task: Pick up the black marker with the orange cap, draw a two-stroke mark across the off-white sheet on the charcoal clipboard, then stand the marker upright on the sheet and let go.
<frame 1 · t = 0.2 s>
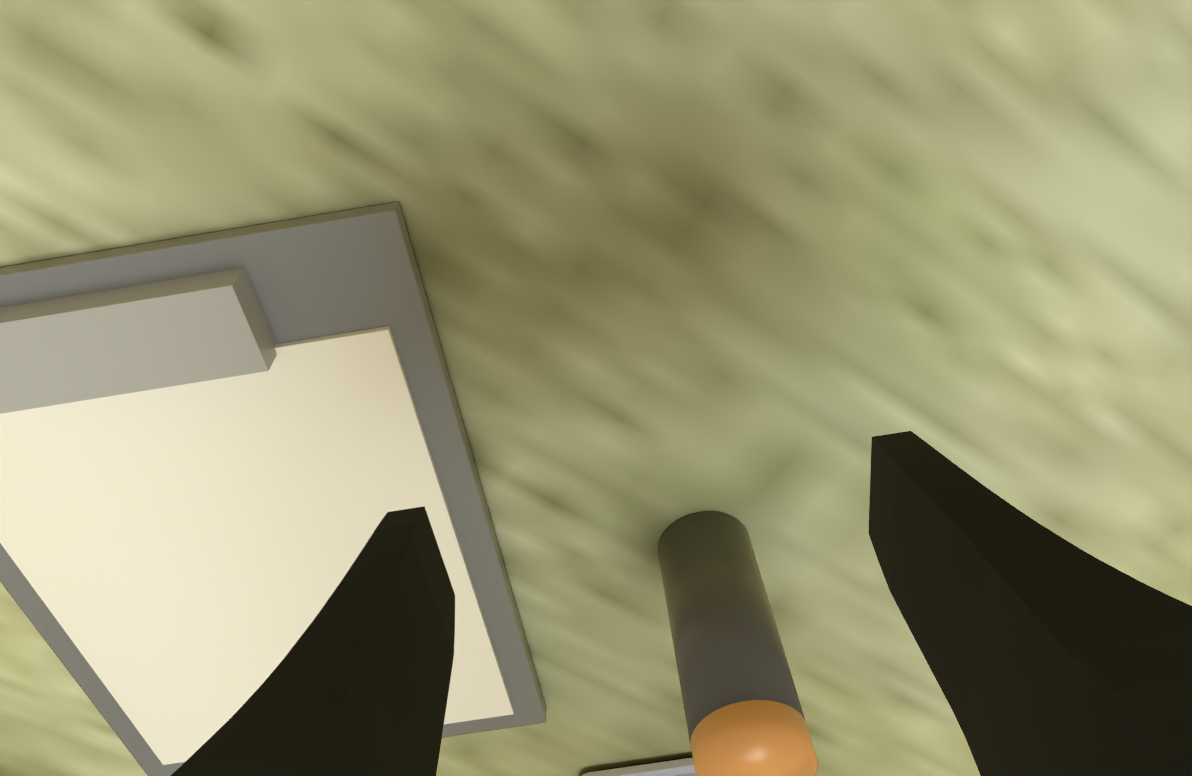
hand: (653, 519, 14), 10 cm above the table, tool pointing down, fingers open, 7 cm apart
marker: (703, 546, 27), on the table
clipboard: (251, 544, 26), on the table
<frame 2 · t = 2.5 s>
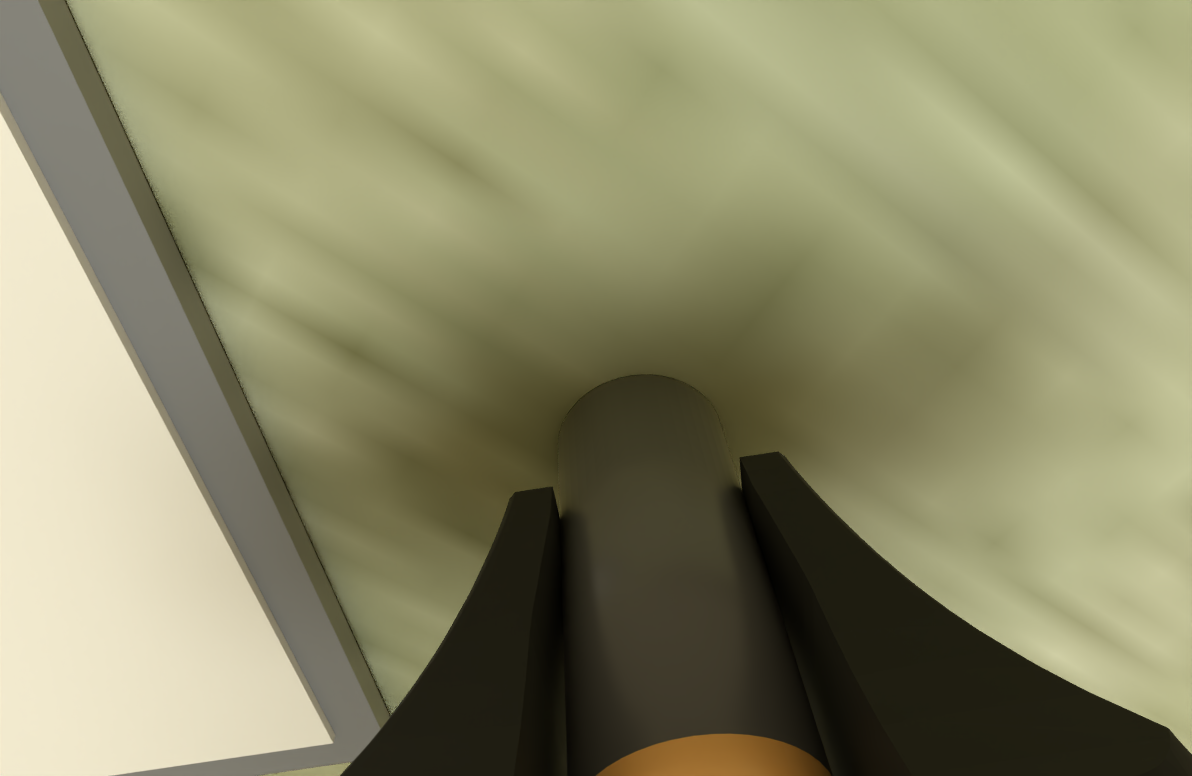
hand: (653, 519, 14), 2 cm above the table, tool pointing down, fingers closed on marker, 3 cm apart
marker: (640, 445, 15), on the table, touching gripper
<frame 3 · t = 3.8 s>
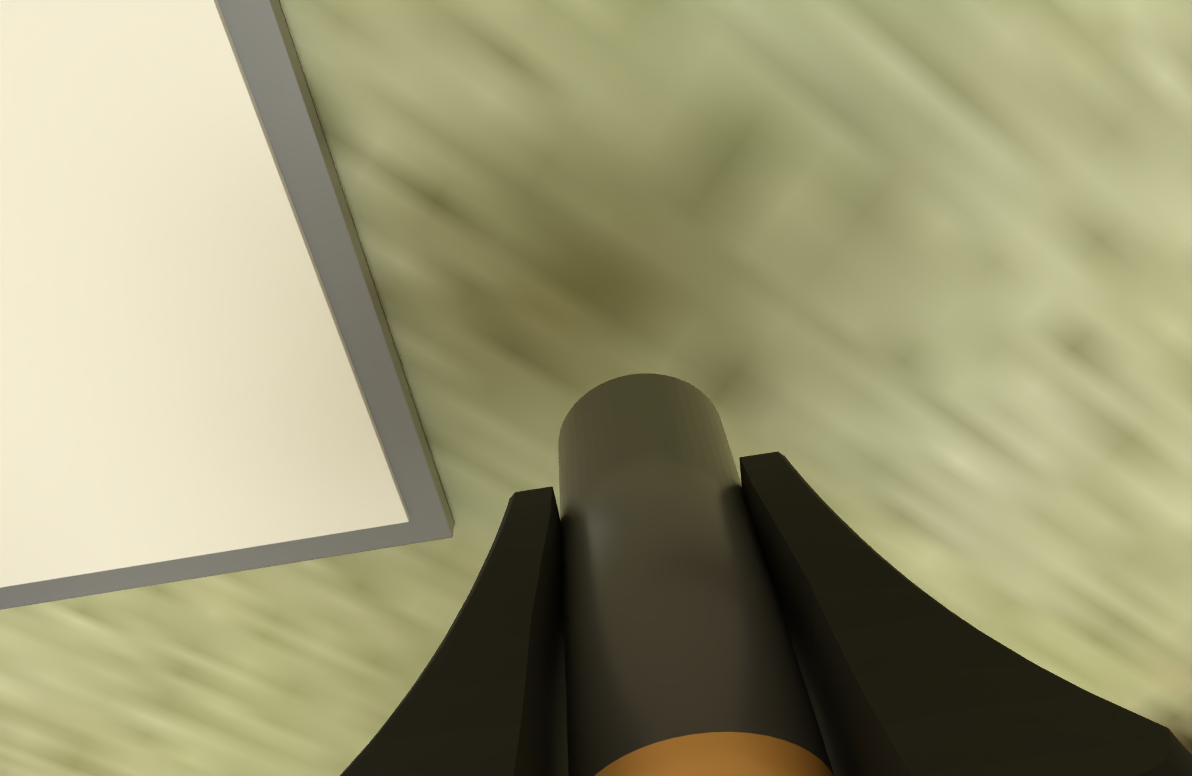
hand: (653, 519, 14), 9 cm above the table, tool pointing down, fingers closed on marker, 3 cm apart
marker: (640, 444, 15), point 7 cm above the table, touching gripper
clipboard: (42, 261, 20), on the table
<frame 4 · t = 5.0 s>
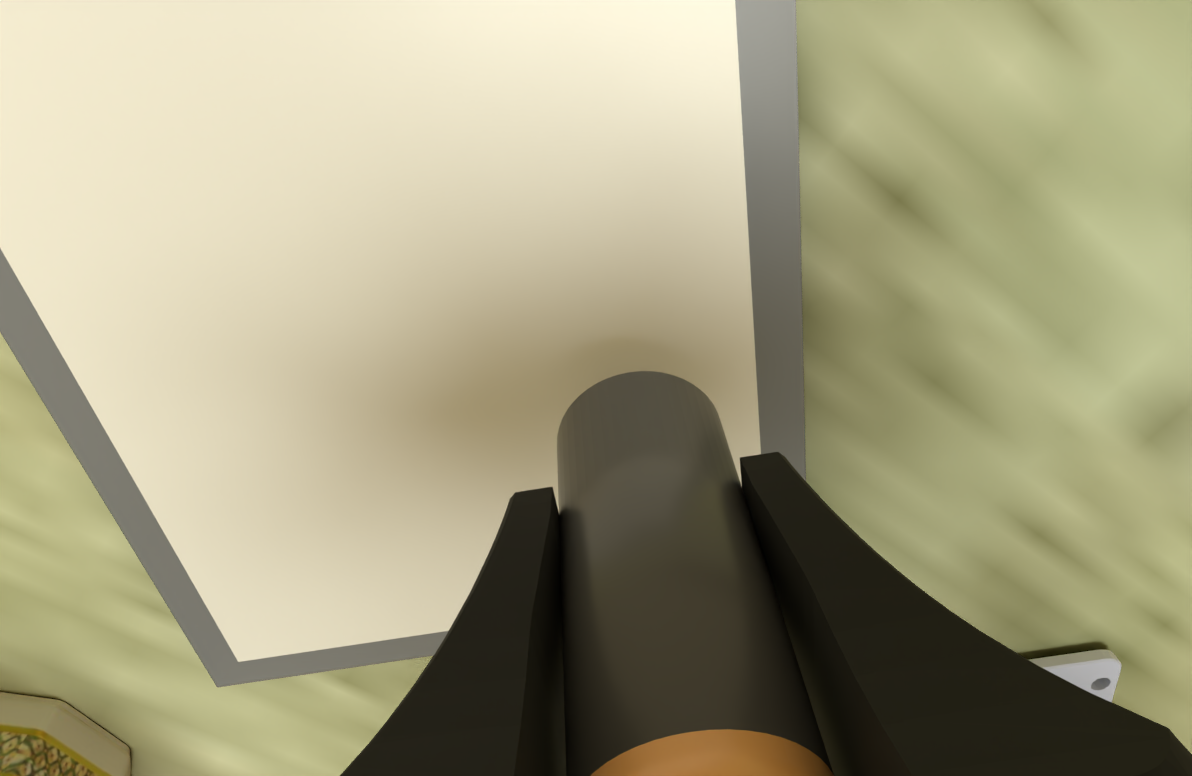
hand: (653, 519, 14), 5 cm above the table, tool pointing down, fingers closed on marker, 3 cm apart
marker: (639, 441, 15), point 3 cm above the table, touching gripper
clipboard: (403, 271, 16), on the table
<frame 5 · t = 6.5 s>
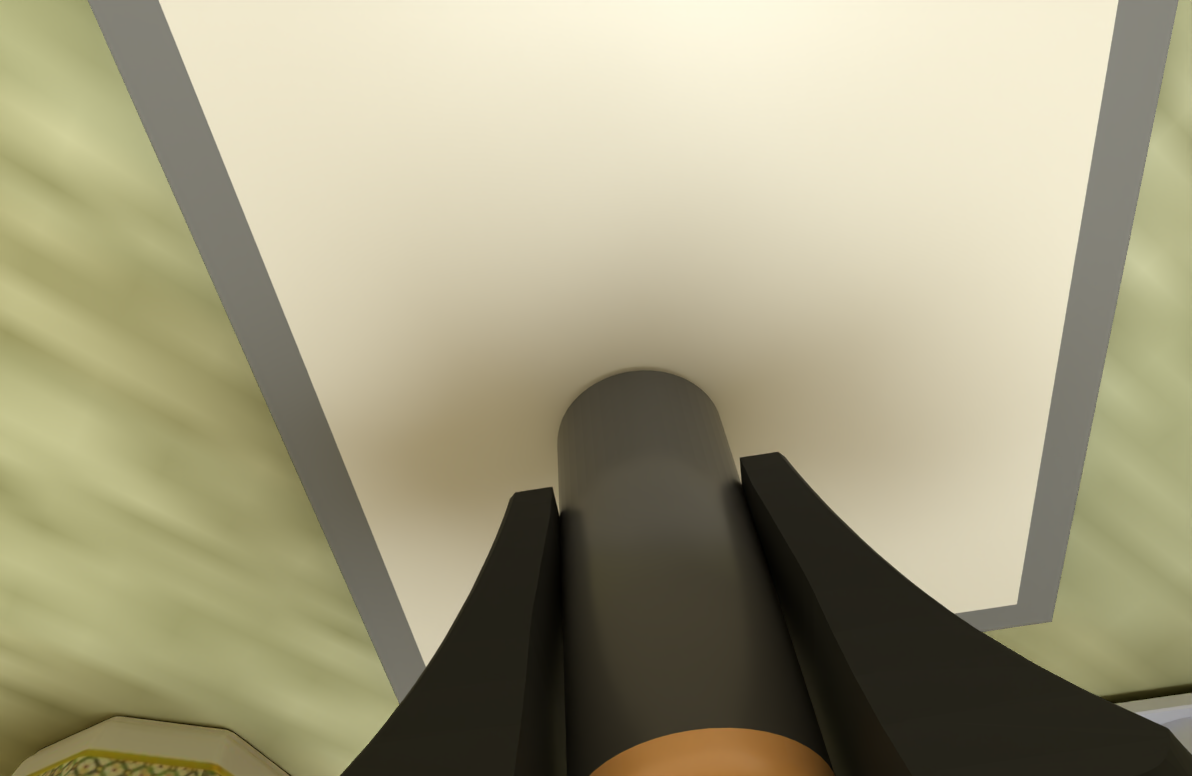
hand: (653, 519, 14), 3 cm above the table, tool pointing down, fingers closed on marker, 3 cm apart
marker: (640, 441, 15), point 1 cm above the table, touching gripper
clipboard: (676, 264, 14), on the table
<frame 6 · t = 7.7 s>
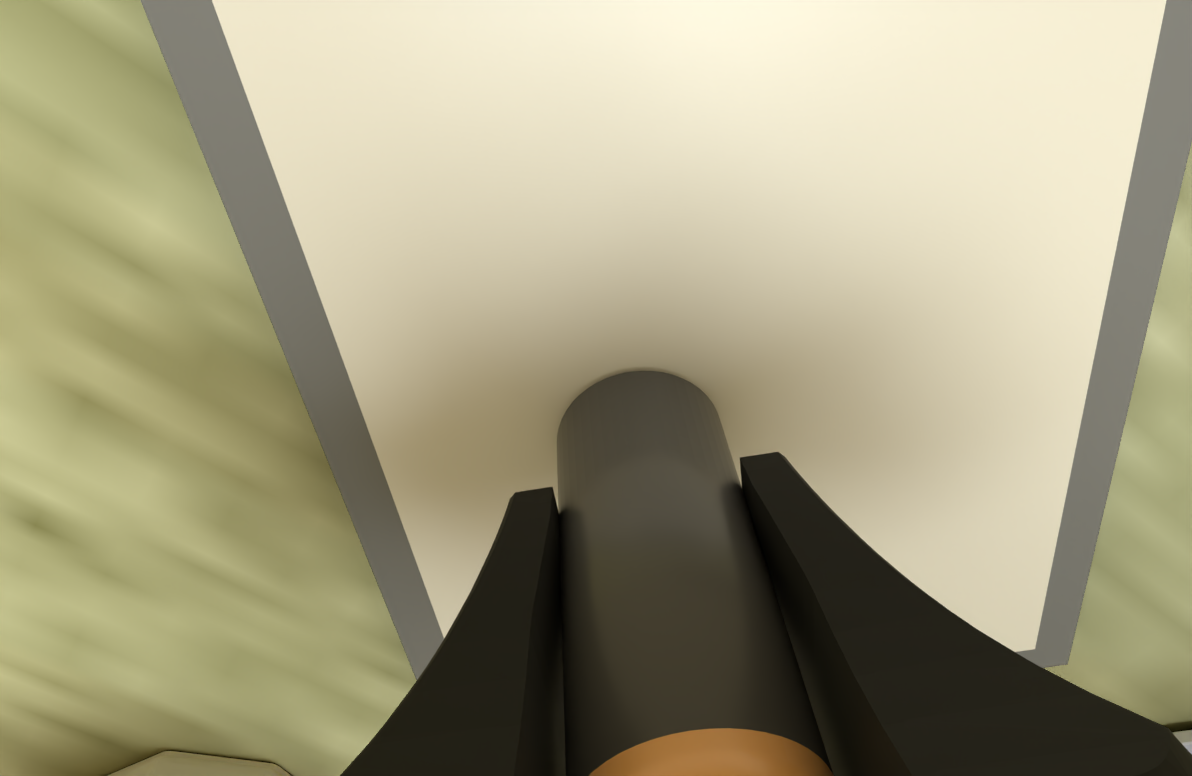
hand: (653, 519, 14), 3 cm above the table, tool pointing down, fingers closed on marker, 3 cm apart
marker: (639, 441, 15), point 1 cm above the table, touching gripper
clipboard: (720, 337, 15), on the table
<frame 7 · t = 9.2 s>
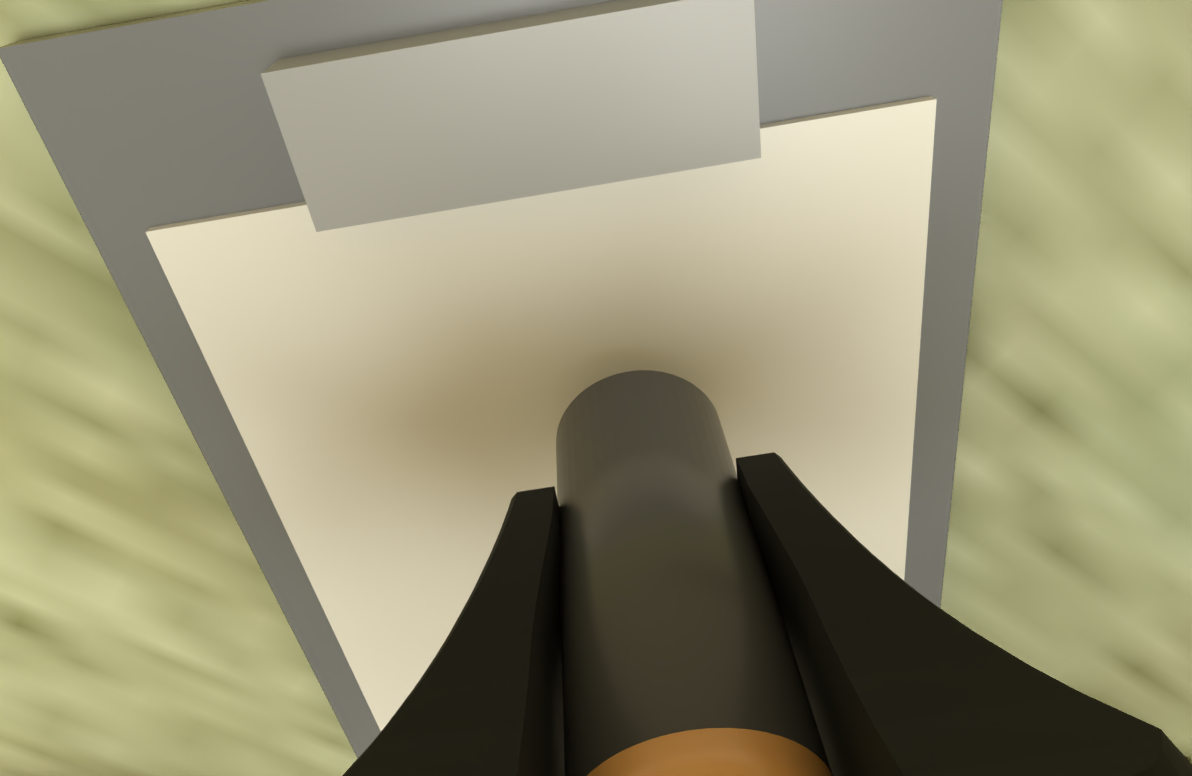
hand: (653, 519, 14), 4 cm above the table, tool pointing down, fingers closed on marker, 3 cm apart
marker: (638, 441, 15), point 2 cm above the table, touching gripper
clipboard: (596, 471, 18), on the table
when the fingers open (4 cm above the table, at t = 9.3 s): marker drops 1 cm, resting on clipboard.
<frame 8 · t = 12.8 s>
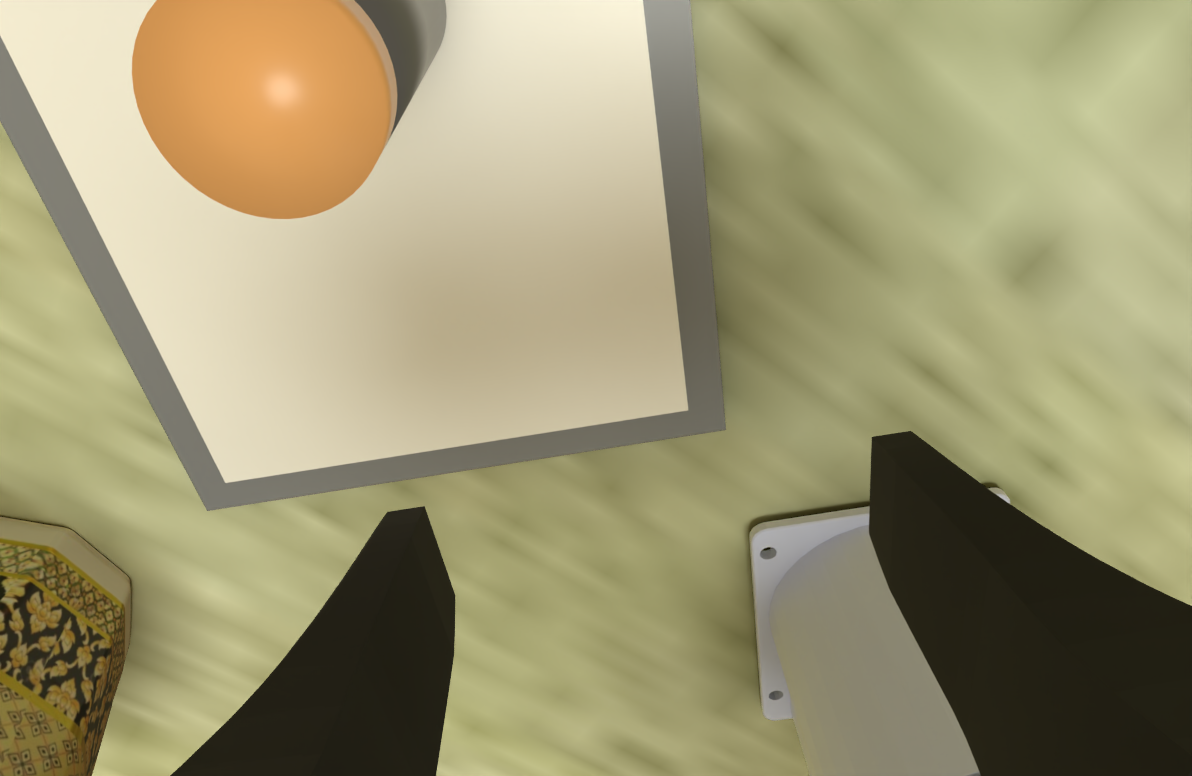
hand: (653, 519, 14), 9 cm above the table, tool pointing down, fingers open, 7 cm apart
marker: (372, 8, 17), point 1 cm above the table, touching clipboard
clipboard: (362, 110, 19), on the table
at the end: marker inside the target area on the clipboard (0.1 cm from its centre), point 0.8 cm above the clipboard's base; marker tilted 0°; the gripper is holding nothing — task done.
